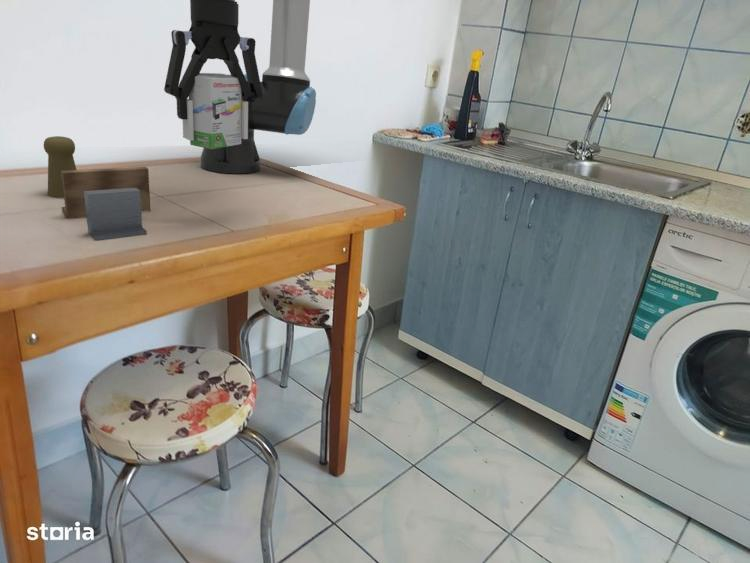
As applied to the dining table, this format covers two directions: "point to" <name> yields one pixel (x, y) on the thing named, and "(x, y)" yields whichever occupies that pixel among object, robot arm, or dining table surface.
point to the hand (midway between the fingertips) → (216, 138)
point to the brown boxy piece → (102, 186)
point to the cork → (58, 162)
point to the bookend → (114, 213)
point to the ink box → (216, 110)
